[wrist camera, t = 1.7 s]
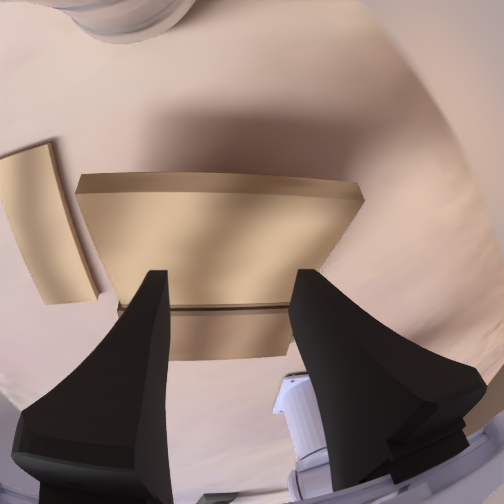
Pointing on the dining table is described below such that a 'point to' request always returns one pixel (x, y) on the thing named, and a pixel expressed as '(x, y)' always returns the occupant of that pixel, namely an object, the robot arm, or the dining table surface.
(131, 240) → the oak plank
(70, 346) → the dining table surface
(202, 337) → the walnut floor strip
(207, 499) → the faucet
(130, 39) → the plastic bottle
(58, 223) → the plank
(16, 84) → the dining table surface
